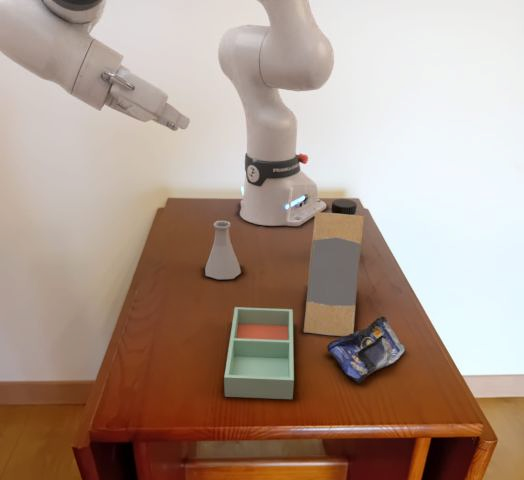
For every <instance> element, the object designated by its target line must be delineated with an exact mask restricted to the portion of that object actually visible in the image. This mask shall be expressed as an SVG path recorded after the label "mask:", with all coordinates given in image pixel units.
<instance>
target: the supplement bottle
mask: <svg viewBox="0 0 524 480" xmlns="http://www.w3.org/2000/svg"><path fill="white" fill-rule="evenodd" d="M357 206H358V204H357V202H356V201H354V200H352V199H347V198H336V199H333V201H332V202H331V208H330V213H337V214H348V215H356V214H357Z"/></svg>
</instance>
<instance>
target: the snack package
mask: <svg viewBox="0 0 524 480" xmlns="http://www.w3.org/2000/svg"><path fill="white" fill-rule="evenodd" d="M326 349H327V352H329V353H330V354H329V357H331V355H332V356H333V357H334V358H335V360H336V361H337V362H338V364H339V365H338V366H340V368H341V369H342V372H343V373H344V375H345V376H346V377H348V379H350V380H352V381H354V382H355V383H356V384H359V385H360V384H362V383H363V382H364V381H366V379H367V377H369V375H371V374H373V373H374V372H375V371H378V370H380V369H382V368H385V367H387V366H390V365H391V364H393V363H395V362H396V361H397V360H399V359H400V357H401V356H402V355H403V354H404V352H405V350H406V348H405V345H404V344H401V342H400V341H399V337H398V336H397V334H396V333H395V332H394V330H393V328H392V327H391V326H390V323H389V321H388V320H387V317H385V316H380V317H378V318H376V319H375V320H374V321H372V323H371V324H370V325H368V326H365V328H363V329H359V330H356V331H353V334H350V335H346V336H339V338H337V339H335V340H333V341H331V342H330V343H328V345H327V347H326Z"/></svg>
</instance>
